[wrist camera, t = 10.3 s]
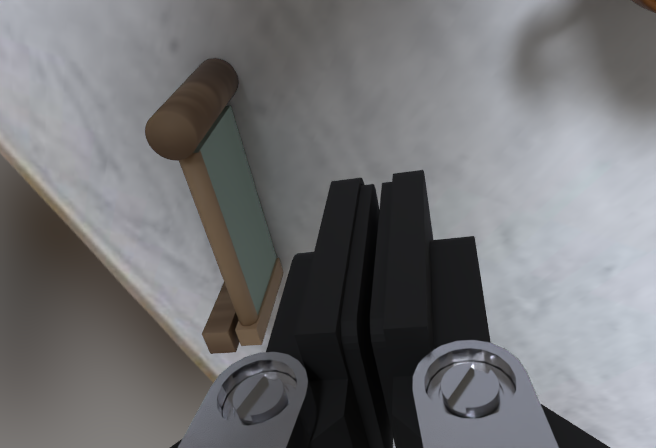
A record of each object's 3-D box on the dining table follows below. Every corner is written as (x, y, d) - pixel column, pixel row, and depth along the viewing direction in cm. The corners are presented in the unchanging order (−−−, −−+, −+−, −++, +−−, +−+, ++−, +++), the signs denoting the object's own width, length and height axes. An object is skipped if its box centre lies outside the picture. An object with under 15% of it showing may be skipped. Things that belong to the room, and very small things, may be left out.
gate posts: (192, 59, 40) (139, 112, 32) (234, 57, 39) (190, 111, 32) (237, 273, 50) (205, 353, 42) (271, 274, 50) (245, 355, 42)
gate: (212, 108, 41) (171, 163, 34) (233, 105, 41) (196, 159, 34) (265, 274, 49) (241, 345, 42) (283, 272, 49) (261, 344, 42)
